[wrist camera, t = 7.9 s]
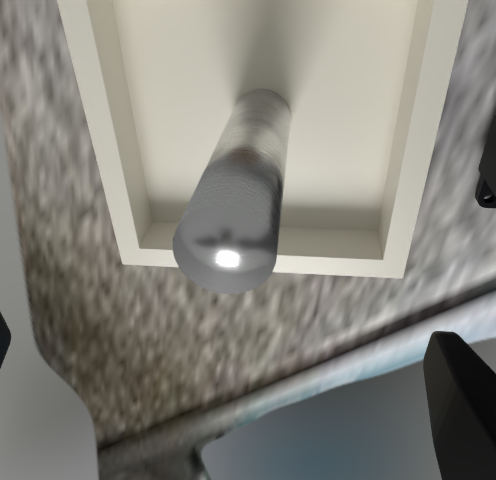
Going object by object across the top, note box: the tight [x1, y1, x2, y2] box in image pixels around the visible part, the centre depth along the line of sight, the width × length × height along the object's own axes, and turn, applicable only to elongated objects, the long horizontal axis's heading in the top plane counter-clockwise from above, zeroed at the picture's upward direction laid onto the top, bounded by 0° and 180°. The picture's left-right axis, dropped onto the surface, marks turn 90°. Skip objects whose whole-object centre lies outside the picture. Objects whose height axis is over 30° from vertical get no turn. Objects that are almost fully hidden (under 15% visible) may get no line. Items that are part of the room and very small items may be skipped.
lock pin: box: [172, 89, 291, 294], centre depth 14 cm, size 2×2×10 cm
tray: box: [57, 0, 469, 278], centre depth 18 cm, size 13×13×3 cm
